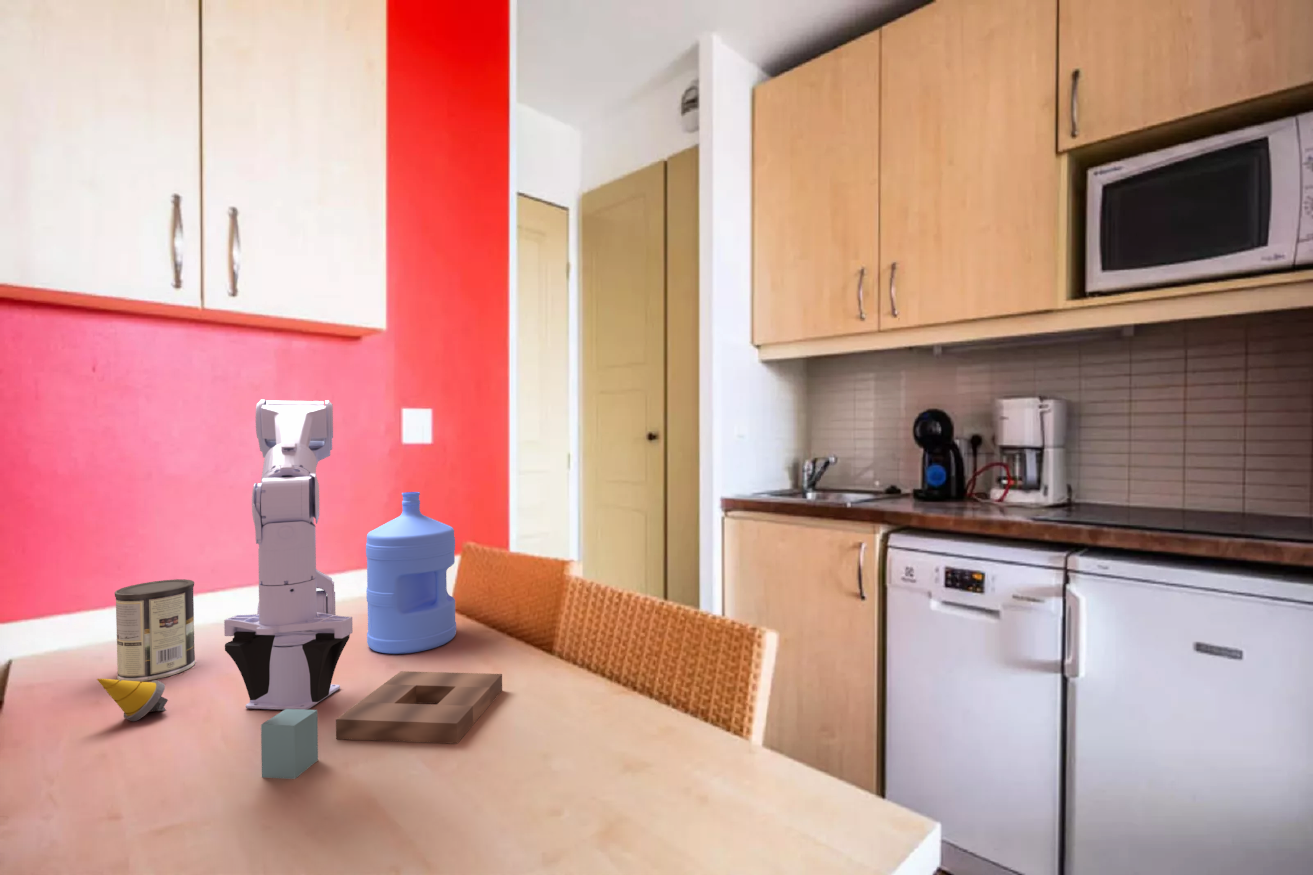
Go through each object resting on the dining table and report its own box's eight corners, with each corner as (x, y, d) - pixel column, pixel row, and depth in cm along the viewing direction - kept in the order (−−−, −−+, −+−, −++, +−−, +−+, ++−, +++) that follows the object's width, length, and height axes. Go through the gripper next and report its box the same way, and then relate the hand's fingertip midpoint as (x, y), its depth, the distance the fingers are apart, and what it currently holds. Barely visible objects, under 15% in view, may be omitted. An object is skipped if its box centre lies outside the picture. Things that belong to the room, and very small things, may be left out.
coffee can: (156, 658, 108) (155, 578, 108) (210, 659, 107) (209, 579, 107) (97, 682, 98) (96, 593, 98) (156, 683, 97) (155, 594, 97)
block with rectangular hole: (336, 738, 78) (335, 719, 78) (400, 687, 94) (400, 671, 94) (457, 743, 76) (456, 723, 76) (502, 690, 92) (502, 673, 92)
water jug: (347, 651, 110) (345, 496, 110) (406, 625, 125) (404, 488, 125) (420, 659, 106) (418, 497, 106) (472, 631, 121) (470, 489, 121)
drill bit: (170, 722, 84) (99, 690, 79) (142, 735, 85) (70, 704, 80) (189, 686, 89) (123, 653, 83) (162, 699, 90) (94, 668, 84)
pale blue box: (261, 777, 69) (261, 724, 69) (286, 759, 73) (285, 708, 73) (294, 779, 69) (294, 725, 69) (317, 760, 73) (317, 710, 73)
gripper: (201, 588, 68) (203, 710, 68) (324, 589, 66) (326, 714, 66) (250, 573, 75) (251, 685, 75) (362, 574, 73) (363, 688, 73)
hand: (289, 697), depth 71 cm, fingers open, 7 cm apart
